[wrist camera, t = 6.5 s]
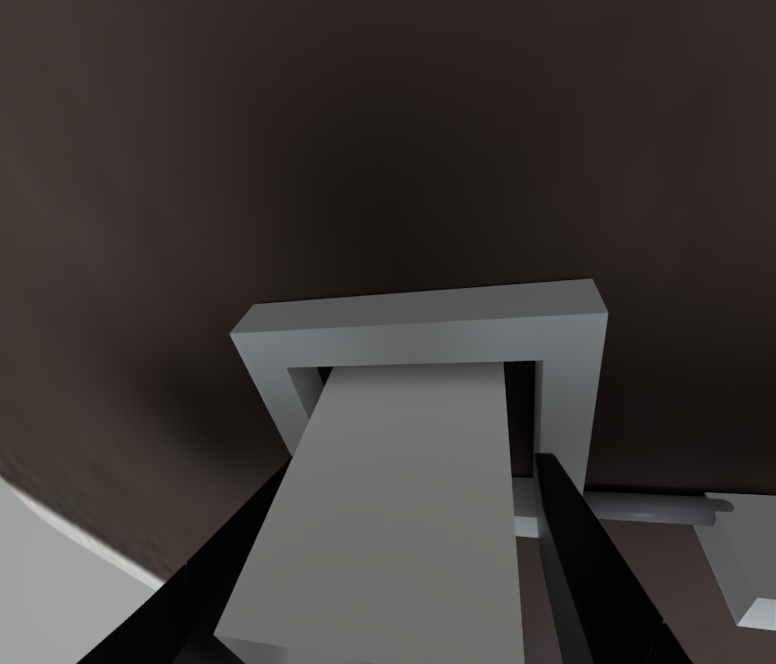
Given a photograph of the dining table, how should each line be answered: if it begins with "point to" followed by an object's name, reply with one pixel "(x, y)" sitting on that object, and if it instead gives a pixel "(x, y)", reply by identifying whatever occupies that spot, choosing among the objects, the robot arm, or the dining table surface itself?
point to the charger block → (389, 528)
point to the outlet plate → (441, 355)
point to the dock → (716, 541)
